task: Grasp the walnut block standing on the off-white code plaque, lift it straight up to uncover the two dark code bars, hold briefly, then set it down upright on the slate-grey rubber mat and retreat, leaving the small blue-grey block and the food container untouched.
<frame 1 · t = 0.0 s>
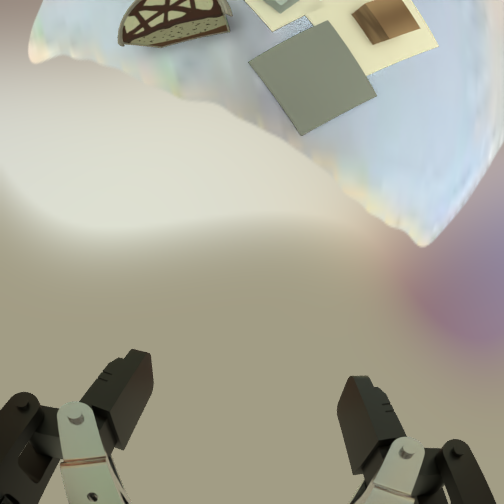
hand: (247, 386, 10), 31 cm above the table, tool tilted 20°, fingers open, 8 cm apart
mat: (314, 76, 29), on the table
block: (376, 23, 22), resting on code plaque
food container: (192, 20, 25), on the table
code plaque: (375, 24, 23), on the table
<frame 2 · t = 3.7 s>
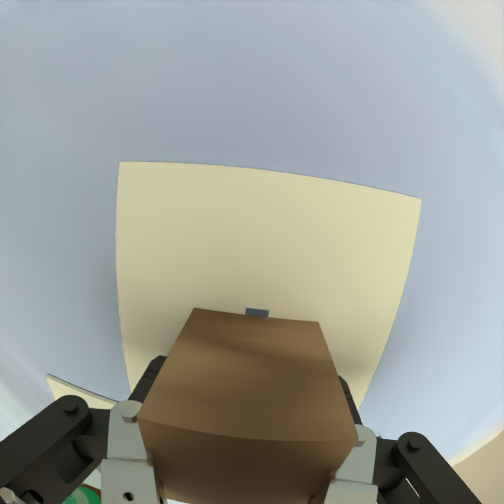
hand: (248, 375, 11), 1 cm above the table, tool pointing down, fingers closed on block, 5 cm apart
block: (249, 365, 11), resting on code plaque, touching gripper
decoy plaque: (107, 431, 14), on the table
food container: (100, 476, 17), on the table
code plaque: (249, 361, 12), on the table
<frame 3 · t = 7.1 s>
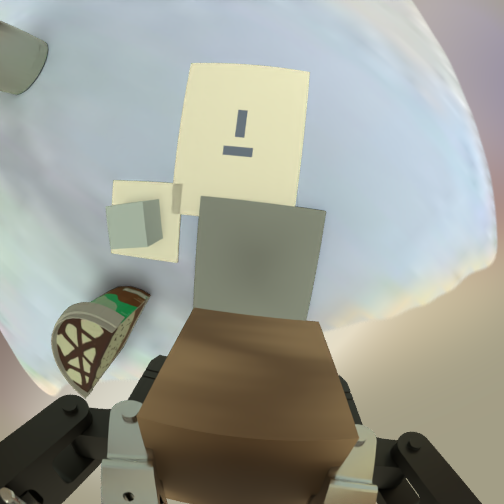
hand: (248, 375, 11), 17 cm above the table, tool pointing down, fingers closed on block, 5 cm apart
mat: (256, 262, 27), on the table
block: (249, 365, 11), point 17 cm above the table, touching gripper
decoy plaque: (144, 220, 27), on the table
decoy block: (143, 220, 27), resting on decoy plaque
food container: (116, 307, 30), on the table
code plaque: (239, 137, 25), on the table
when the fingers open (2 cm above the table, at t = 10.4 s): block drops 1 cm, resting on mat.
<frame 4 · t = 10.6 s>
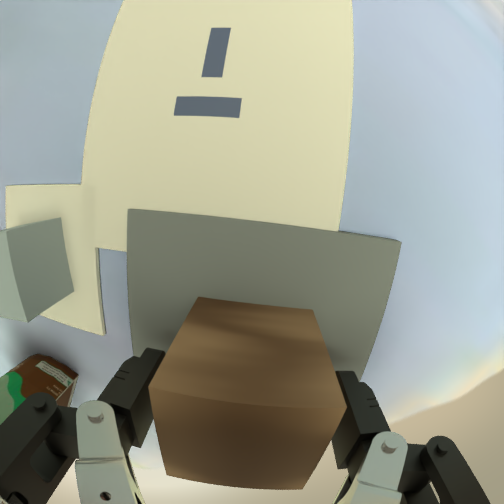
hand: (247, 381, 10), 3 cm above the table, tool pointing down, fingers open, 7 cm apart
mat: (250, 345, 13), on the table
block: (249, 351, 12), point 1 cm above the table, touching mat
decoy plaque: (46, 255, 12), on the table
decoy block: (43, 256, 12), resting on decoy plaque
food container: (43, 379, 15), on the table
code plaque: (212, 79, 10), on the table
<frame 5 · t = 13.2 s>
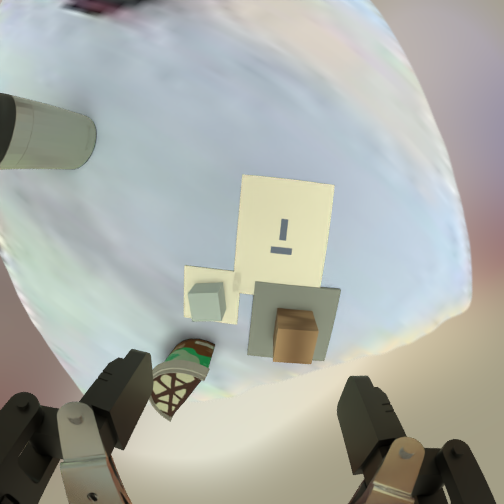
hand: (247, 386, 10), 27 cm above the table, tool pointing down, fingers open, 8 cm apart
mat: (292, 323, 39), on the table
block: (292, 325, 38), point 1 cm above the table, touching mat
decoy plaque: (211, 295, 39), on the table
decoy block: (210, 296, 38), resting on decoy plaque
food container: (185, 352, 42), on the table
code plaque: (282, 239, 36), on the table
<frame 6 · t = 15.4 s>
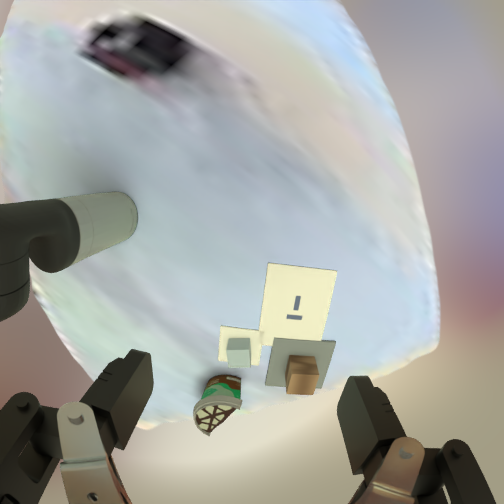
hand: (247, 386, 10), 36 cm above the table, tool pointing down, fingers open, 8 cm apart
mat: (299, 364, 51), on the table
block: (299, 365, 50), point 1 cm above the table, touching mat
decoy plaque: (240, 346, 50), on the table
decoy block: (240, 346, 50), resting on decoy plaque
food container: (216, 384, 53), on the table
code plaque: (295, 309, 48), on the table
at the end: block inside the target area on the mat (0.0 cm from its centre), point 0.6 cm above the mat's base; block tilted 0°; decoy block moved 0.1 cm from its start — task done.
